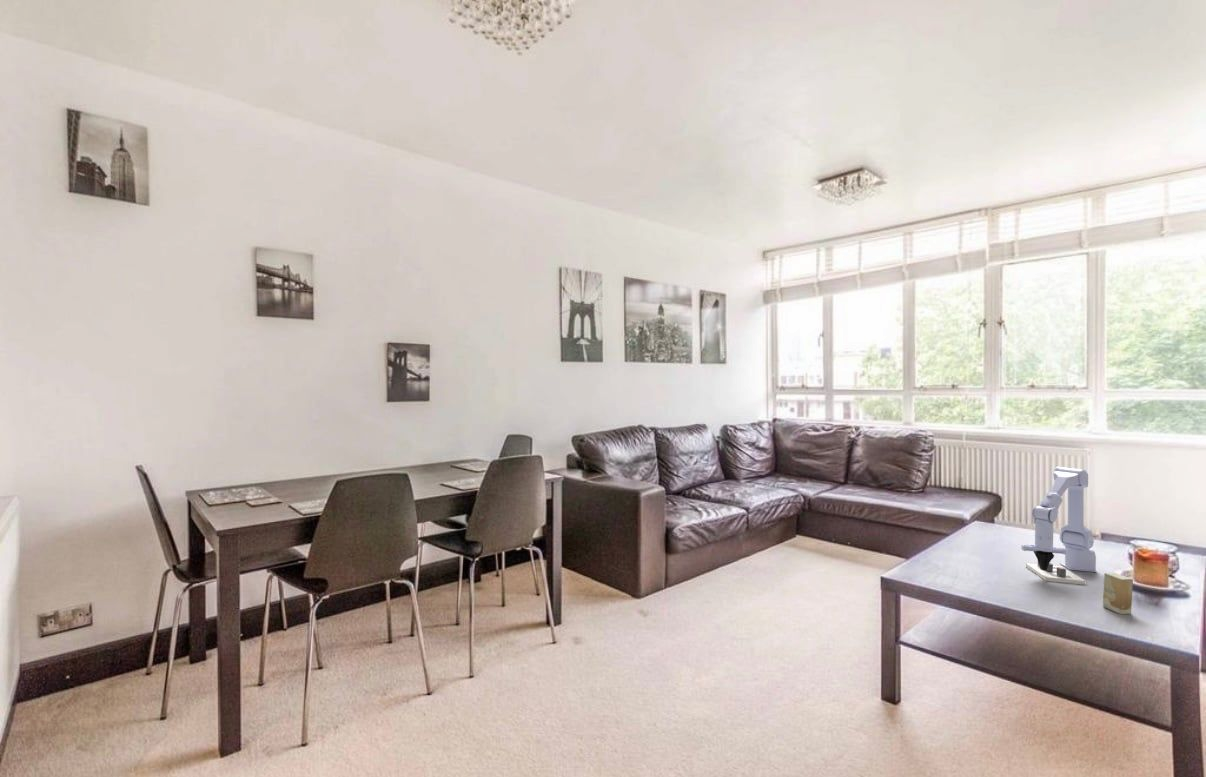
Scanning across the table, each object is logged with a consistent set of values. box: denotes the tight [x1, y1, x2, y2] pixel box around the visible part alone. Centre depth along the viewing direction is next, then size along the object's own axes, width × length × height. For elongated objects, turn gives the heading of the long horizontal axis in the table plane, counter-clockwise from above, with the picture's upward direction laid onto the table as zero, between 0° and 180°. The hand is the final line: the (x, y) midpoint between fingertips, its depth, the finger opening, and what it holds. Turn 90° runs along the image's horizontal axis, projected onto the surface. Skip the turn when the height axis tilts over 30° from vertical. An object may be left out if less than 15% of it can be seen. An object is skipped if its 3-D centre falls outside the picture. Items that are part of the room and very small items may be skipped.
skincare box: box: [1102, 572, 1134, 615], centre depth 186 cm, size 6×4×12 cm
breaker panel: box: [1025, 561, 1086, 585], centre depth 220 cm, size 13×17×5 cm
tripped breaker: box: [1057, 566, 1067, 577], centre depth 214 cm, size 2×2×3 cm
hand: (1043, 569), depth 216 cm, fingers closed
